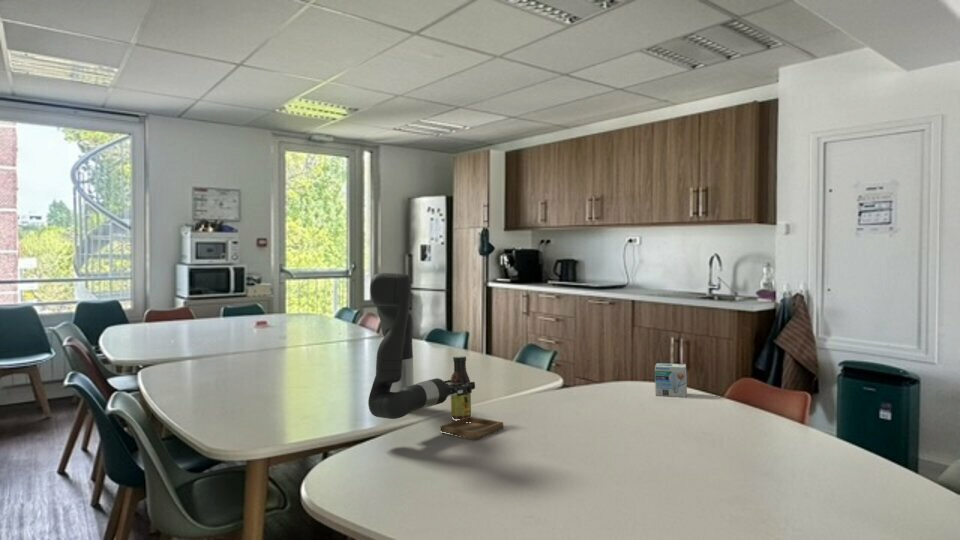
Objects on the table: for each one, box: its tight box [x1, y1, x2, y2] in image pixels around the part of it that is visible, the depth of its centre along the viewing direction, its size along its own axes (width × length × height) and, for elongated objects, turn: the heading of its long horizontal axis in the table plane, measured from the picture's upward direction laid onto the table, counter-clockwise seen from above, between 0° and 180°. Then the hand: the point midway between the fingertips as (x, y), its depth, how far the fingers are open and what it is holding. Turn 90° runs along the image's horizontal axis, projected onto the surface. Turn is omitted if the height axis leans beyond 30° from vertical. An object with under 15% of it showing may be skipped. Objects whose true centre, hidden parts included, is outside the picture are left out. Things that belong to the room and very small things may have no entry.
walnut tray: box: [439, 416, 504, 441], centre depth 161 cm, size 13×13×2 cm
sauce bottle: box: [450, 355, 472, 419], centre depth 175 cm, size 7×6×20 cm
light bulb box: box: [654, 362, 688, 398], centre depth 200 cm, size 11×7×11 cm, turn 68°
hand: (463, 383), depth 176 cm, fingers open, 8 cm apart
